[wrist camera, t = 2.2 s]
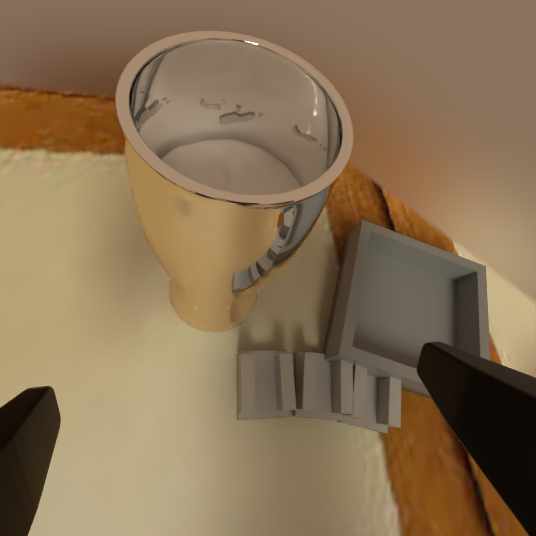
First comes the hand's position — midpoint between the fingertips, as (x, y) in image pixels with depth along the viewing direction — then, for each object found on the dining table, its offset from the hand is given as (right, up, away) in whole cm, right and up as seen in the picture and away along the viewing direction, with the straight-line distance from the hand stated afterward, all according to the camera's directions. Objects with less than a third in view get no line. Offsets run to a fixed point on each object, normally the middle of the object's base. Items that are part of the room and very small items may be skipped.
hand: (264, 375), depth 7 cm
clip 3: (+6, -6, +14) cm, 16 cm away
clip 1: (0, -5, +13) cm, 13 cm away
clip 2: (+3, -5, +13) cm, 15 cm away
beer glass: (-4, +1, +15) cm, 15 cm away
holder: (+10, -1, +17) cm, 20 cm away
